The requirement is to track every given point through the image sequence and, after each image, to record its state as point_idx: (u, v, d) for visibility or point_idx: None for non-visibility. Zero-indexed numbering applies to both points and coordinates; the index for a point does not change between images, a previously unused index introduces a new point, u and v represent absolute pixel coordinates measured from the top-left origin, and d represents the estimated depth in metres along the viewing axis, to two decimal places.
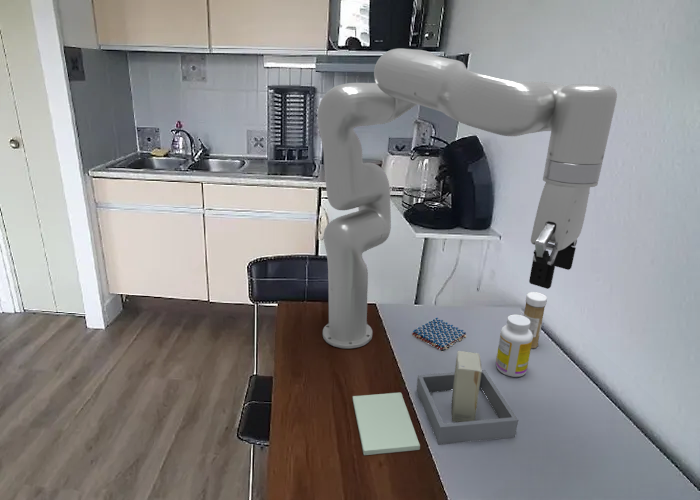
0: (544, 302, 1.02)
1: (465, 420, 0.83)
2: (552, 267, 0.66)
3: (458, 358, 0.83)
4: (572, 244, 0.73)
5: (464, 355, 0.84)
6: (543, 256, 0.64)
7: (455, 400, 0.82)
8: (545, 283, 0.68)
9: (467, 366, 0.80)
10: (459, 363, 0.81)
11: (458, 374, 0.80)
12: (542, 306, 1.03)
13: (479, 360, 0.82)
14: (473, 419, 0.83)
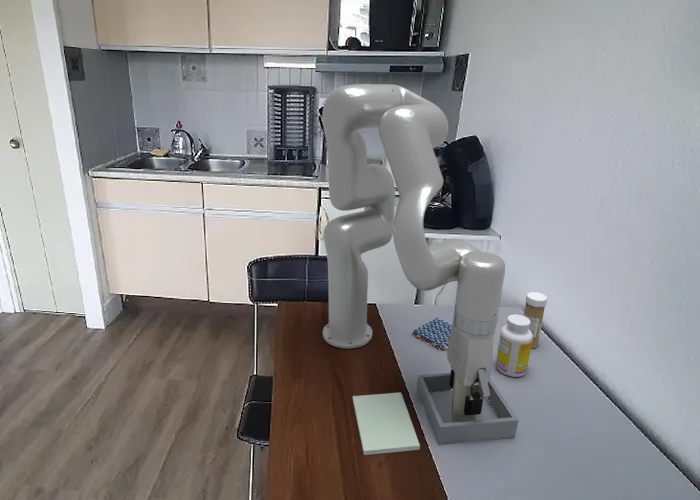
0: (544, 302, 1.02)
1: (465, 420, 0.83)
2: (482, 398, 0.80)
3: None
4: None
5: None
6: (484, 398, 0.77)
7: (455, 400, 0.82)
8: None
9: None
10: None
11: None
12: (542, 306, 1.03)
13: None
14: (473, 419, 0.83)
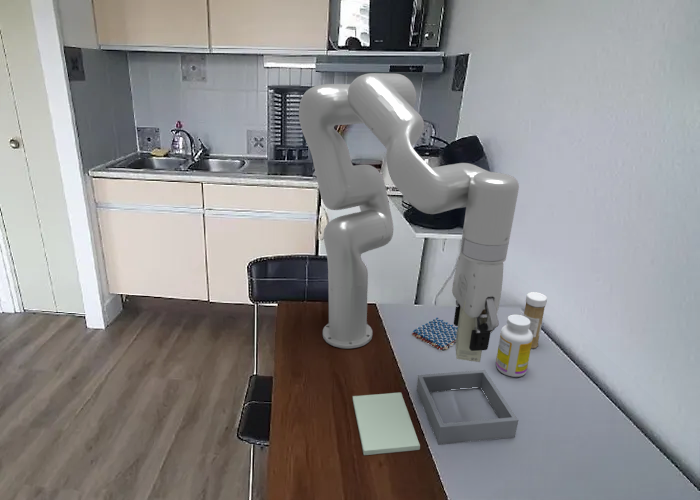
0: (544, 302, 1.02)
1: (470, 357, 0.79)
2: (489, 332, 0.76)
3: None
4: None
5: None
6: (492, 329, 0.72)
7: (460, 335, 0.77)
8: None
9: None
10: None
11: (464, 306, 0.75)
12: (542, 306, 1.03)
13: None
14: (479, 356, 0.78)
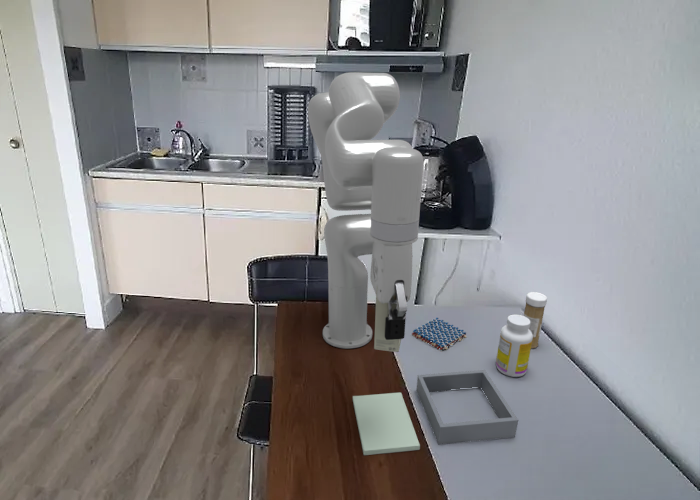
0: (544, 302, 1.02)
1: (388, 347, 0.74)
2: (404, 319, 0.71)
3: None
4: None
5: None
6: (403, 315, 0.68)
7: (376, 323, 0.73)
8: None
9: None
10: None
11: None
12: (542, 306, 1.03)
13: None
14: (397, 345, 0.73)
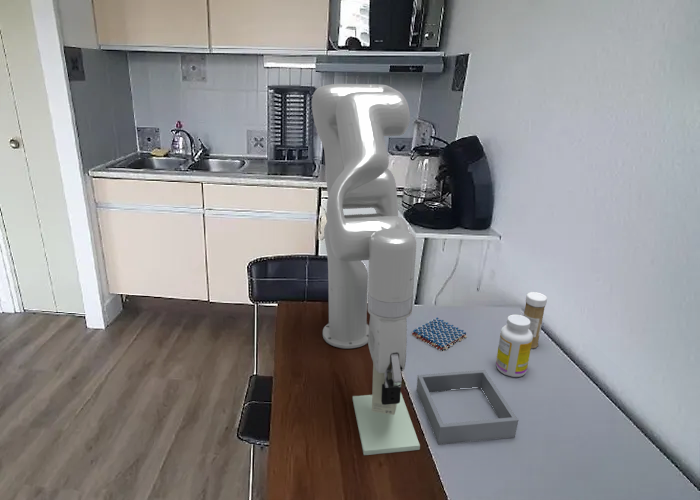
0: (544, 302, 1.02)
1: (385, 410, 0.78)
2: (399, 386, 0.75)
3: None
4: None
5: None
6: (398, 385, 0.72)
7: (373, 388, 0.77)
8: None
9: None
10: None
11: None
12: (542, 306, 1.03)
13: None
14: (393, 409, 0.78)
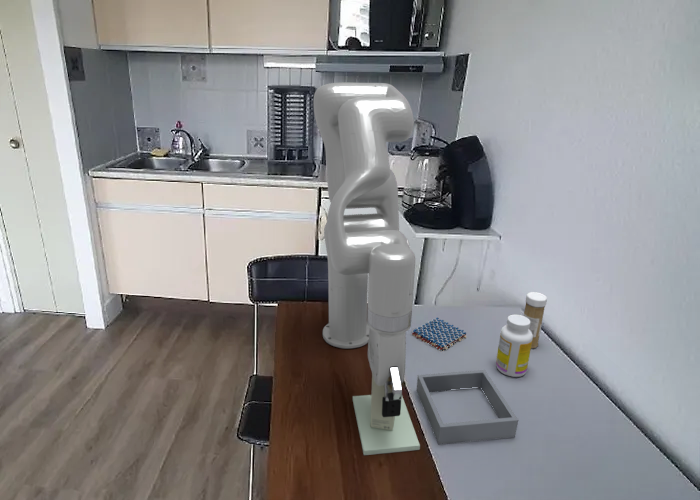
0: (544, 302, 1.02)
1: (383, 425, 0.80)
2: (400, 399, 0.75)
3: None
4: None
5: None
6: (399, 398, 0.72)
7: (372, 405, 0.79)
8: None
9: None
10: None
11: (373, 378, 0.77)
12: (542, 306, 1.03)
13: None
14: (391, 424, 0.80)
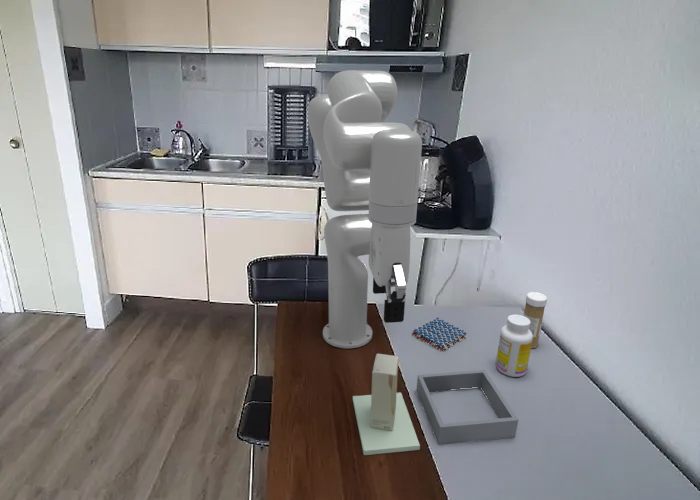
0: (544, 302, 1.02)
1: (383, 425, 0.80)
2: (403, 302, 0.70)
3: (375, 361, 0.80)
4: None
5: (382, 358, 0.81)
6: (403, 297, 0.66)
7: (372, 405, 0.79)
8: None
9: (382, 370, 0.77)
10: (375, 367, 0.78)
11: (373, 378, 0.77)
12: (542, 306, 1.03)
13: (396, 363, 0.79)
14: (391, 424, 0.80)
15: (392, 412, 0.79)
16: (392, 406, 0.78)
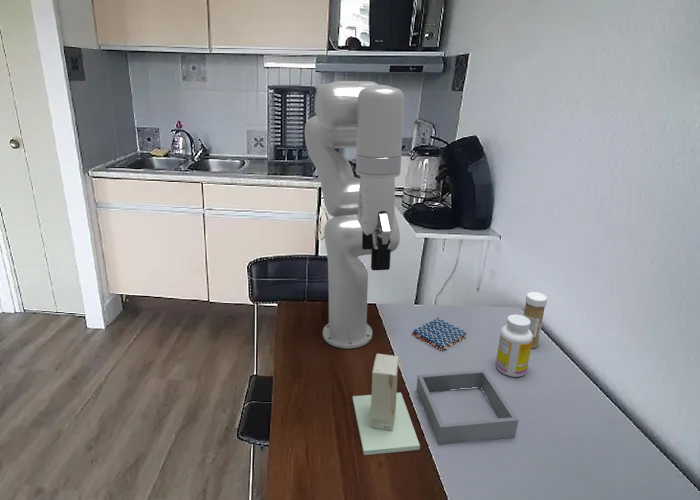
0: (544, 302, 1.02)
1: (383, 425, 0.80)
2: (389, 250, 0.75)
3: (375, 361, 0.80)
4: None
5: (382, 358, 0.81)
6: (388, 242, 0.71)
7: (372, 405, 0.79)
8: (385, 265, 0.76)
9: (382, 370, 0.77)
10: (375, 367, 0.78)
11: (373, 378, 0.77)
12: (542, 306, 1.03)
13: (396, 363, 0.79)
14: (391, 424, 0.80)
15: (392, 412, 0.79)
16: (392, 406, 0.78)
